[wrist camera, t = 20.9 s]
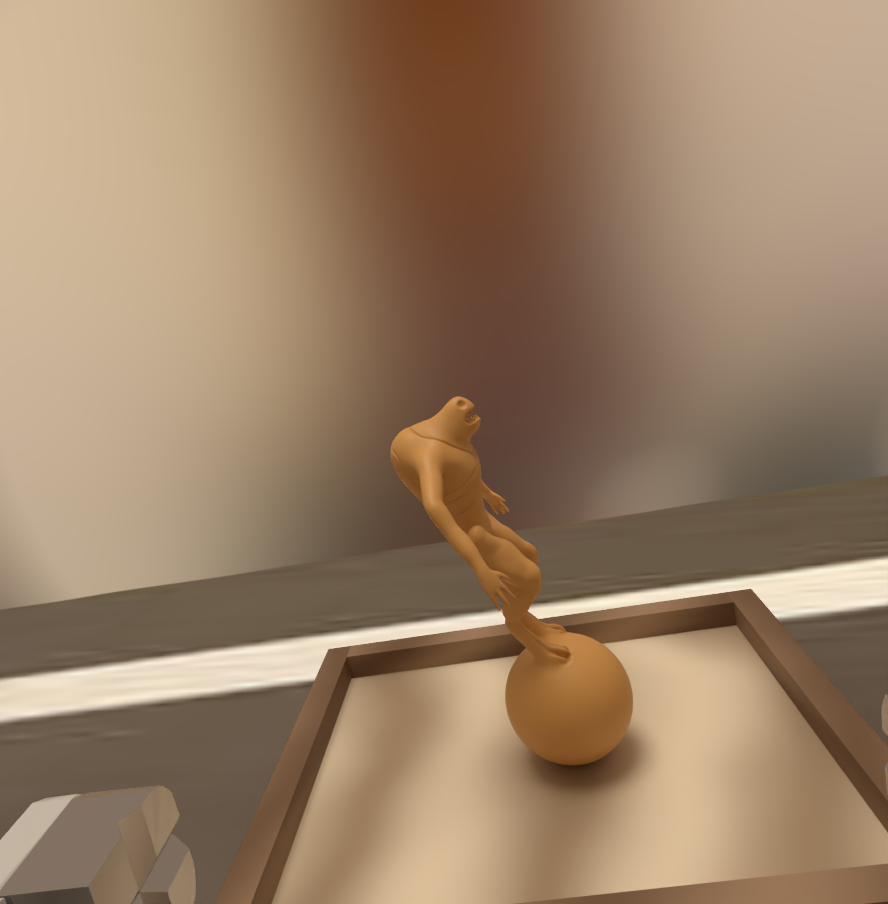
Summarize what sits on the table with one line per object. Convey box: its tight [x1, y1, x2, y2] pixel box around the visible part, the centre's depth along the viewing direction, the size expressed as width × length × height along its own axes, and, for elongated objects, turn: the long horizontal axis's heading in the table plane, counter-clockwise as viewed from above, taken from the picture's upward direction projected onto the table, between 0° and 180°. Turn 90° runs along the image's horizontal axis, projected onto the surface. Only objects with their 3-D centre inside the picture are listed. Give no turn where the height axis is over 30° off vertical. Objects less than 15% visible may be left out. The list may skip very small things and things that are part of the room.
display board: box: [215, 589, 888, 904], centre depth 25 cm, size 18×16×2 cm
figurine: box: [391, 397, 633, 765], centre depth 23 cm, size 8×6×12 cm
